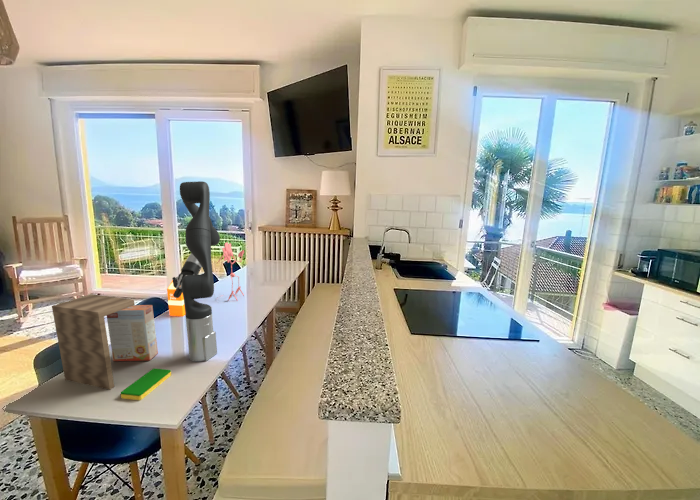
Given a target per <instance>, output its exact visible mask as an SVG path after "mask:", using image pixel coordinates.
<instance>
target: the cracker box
mask: <svg viewBox="0 0 700 500" xmlns="http://www.w3.org/2000/svg"><path fill="white" fill-rule="evenodd" d="M154 317H155V316H154V308H153V304H139V305H138V304H137V305H133V306H131V307H128V308H125V309H123V310H120V311H117V312H115V313H112V314H109V315H107V316H106V322H107V327H108V335H109V343H110V348H111V354H112V355H111V356H112V361H113V362H137V361H138V362H140V361H141V362H142V361H143V362H146V361H147V362H149V361H151V360H152V359H153V358H155V357H156V356H157V354H158V353H159V351H158V350H159V349H158V341H157V334H156V326H155V325H156V323H155V318H154Z"/></svg>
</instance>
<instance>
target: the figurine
mask: <svg viewBox="0 0 700 500" xmlns="http://www.w3.org/2000/svg"><path fill="white" fill-rule="evenodd" d="M232 249H233V248H232V242H230V243H228V242H227V241H226V242H225V243H224V247H222V248H221V250H222V255H221V256H220V258H219V260H217V262H216V264H218V263H219V262H220V261H221V260H222V259H223V261H224V262H226V261H227V263H228V264H229V263H230V269H231V271H230V274H229V276H230V278H231V288H233V287H234V286H233V284H234V282H233V278H234V277H236V278H238V280H237V283H240V276H239V275H238V276H237V275H236V274H235V272H233V265H234V264H235V263H237V262H240V263H242V261H243V255H244V254H245V250H244V249H243V250H240V251H239V253H238V255H237V256H238V258H240V260H236V258H235V256H234V252H233V250H232ZM231 257H232V258H233V260H234V261H233V262H232V260H231ZM239 291H240V293H241V294H242V296H244V292H243V291H242V290H241V286H240V285H239V286H237V288H236V290H235V291H234V290H231V293H230V294H229V297H228V299H227V302H229V300H230V299H231V298H232V296H234V299H236V301H238V298H237V297H236V295H237V294H238V292H239ZM234 292H235V293H234ZM235 294H236V295H235ZM223 296H224V294H223V295H221V297H223ZM218 298H220V296H219V297H217V299H218Z"/></svg>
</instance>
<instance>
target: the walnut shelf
mask: <svg viewBox="0 0 700 500" xmlns="http://www.w3.org/2000/svg"><path fill="white" fill-rule="evenodd" d="M133 305H135V300H134V299H132V298H122V297H116V296H115V297H114V296H107V295H98V294H91V293H90V294H88V295H84V296H81V297H80V296H79V297H78V298H73V299H71V300H66V301H64V302H60V303H57V304H53V305H51V309H52V314H53V316H52V317H53V321H54V326H55V332H56V337H57V344H58V348H59V354H60V360H61V365H62V369H63V370H62V371H63V377H64V380H65V381H68V382H72V383H77V384H82V385H86V386H91V387H95V388H101V389H104V390H105V389H106V390H108V391H109V390H112V389H114V388H115V381H114V375H113V367H112V361H111V354H110V349H109V348H110V347H109V340H108V334H107V327H106V322H105V317H107V315H109V314H112V313H115V312H117V311H120V310H123V309H125V308H128V307H131V306H133Z"/></svg>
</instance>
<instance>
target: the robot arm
mask: <svg viewBox="0 0 700 500" xmlns="http://www.w3.org/2000/svg"><path fill="white" fill-rule="evenodd" d="M179 195H180V199H181V200H182V203H183V204H184V206H185V207H186V209H187V211H188V212H189V213H190V215H191V219H190V221H189V222H188V224H187V225H186V228H185V232H184V233H185V245H186V248H187V249H188V250H189V252H190V254H189V256H188V257H187V258H186V260H185V261H184V264H183V266H182V267H181V271H180V273H179V274H178V276H176V277H175V276H173V277H172V280H173V286H174V287H175V288H176V290H175V292H174V294H173V297H175V298H179V297H180V296H181V294H182V293H183V299H184V306H185V315H184V317H185V323H186V324H185V327H186V336H187V347H188V356H189V357H188V358H189V360H191V361H192V362H204V361H206V362H207V361H209V360H210V359H211V358H213V357H214V356H215V355H217V354H218V346H217V333H216V330H214V324H213V311H212V306H211V305H210V304H207V303H203V302H199V301H197V300H198V299H208V298H211V297H213V295H214V292H215V282H214V274H213V273H214V272H213V264H212V247H214V246H217V245H218V244H219V243H220V240H221V236H220V233H219V232H218V230H217V229H216V228H215V226H214V225H213V222H212V219H211V216H210V199H211V198H210V197H211V196H210V187H209V185H208V183H207V182H205V181H201V180H200V181H182V182H181V183H180V185H179ZM197 204H199V206H198V205H197ZM201 270H202V271H203V273H202V274H200V271H201Z"/></svg>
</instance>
